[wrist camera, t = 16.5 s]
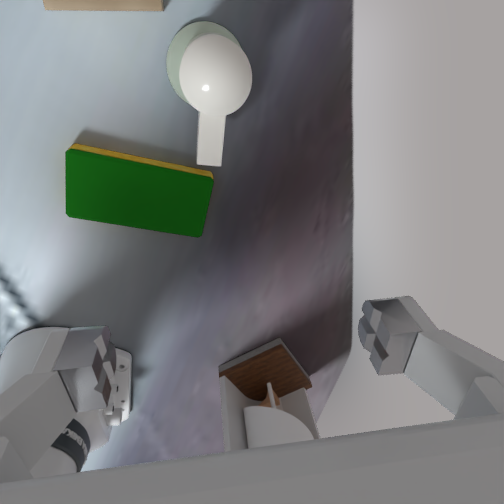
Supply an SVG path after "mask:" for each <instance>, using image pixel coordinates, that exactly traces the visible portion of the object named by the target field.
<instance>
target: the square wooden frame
mask: <svg viewBox="0 0 504 504" xmlns="http://www.w3.org/2000/svg"><path fill="white" fill-rule="evenodd" d="M43 3H44V7H45V10H88V11H164V6H163V0H43Z"/></svg>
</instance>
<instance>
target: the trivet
mask: <svg viewBox="0 0 504 504" xmlns="http://www.w3.org/2000/svg"><path fill="white" fill-rule="evenodd" d="M205 32H215V33H219V34H221V35H223V36H225V37H227V38H228V39H230V40H231V41H233V42H234V43H235V44H237V45H238V46H239V47H240V48H241V46H240V44H239V42H238V41H237V39H236V38H235V37H234V35H233V34H232V33H231V32H230V31H228V30H227V29H226V28H224V27H222V26H221V25H218V24H216V23H213V22H207V21H201V22H195V23H192V24H189V25H187V26H186V27H184V28H183V29H181V30H180V31H179V32H178V33H177V34H176V35H175V37H174V38H173V40H172V42H171V44H170V46H169V49H168V53H167V60H166V66H167V73H168V77H169V80H170V83H171V85H172V87H173V89H174V90H175V92H176V93H177V94H178V95H179V97H180V98H181V99H183V100H184V101H185V102H186V103H188V104H190V103H189V102H188V100H187V99H186V97H185V96H184V94H183V91H182V89H181V85H180V79H179V71H180V65H181V61H182V57H183V53H184V50H185V48H186V46H187V45H188V43H189V42H190V41H191V40H192V39H193V38H194V37H195V36H197V35H199V34H201V33H205ZM241 49H242V48H241ZM190 105H191V104H190ZM191 106H192V105H191Z"/></svg>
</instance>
